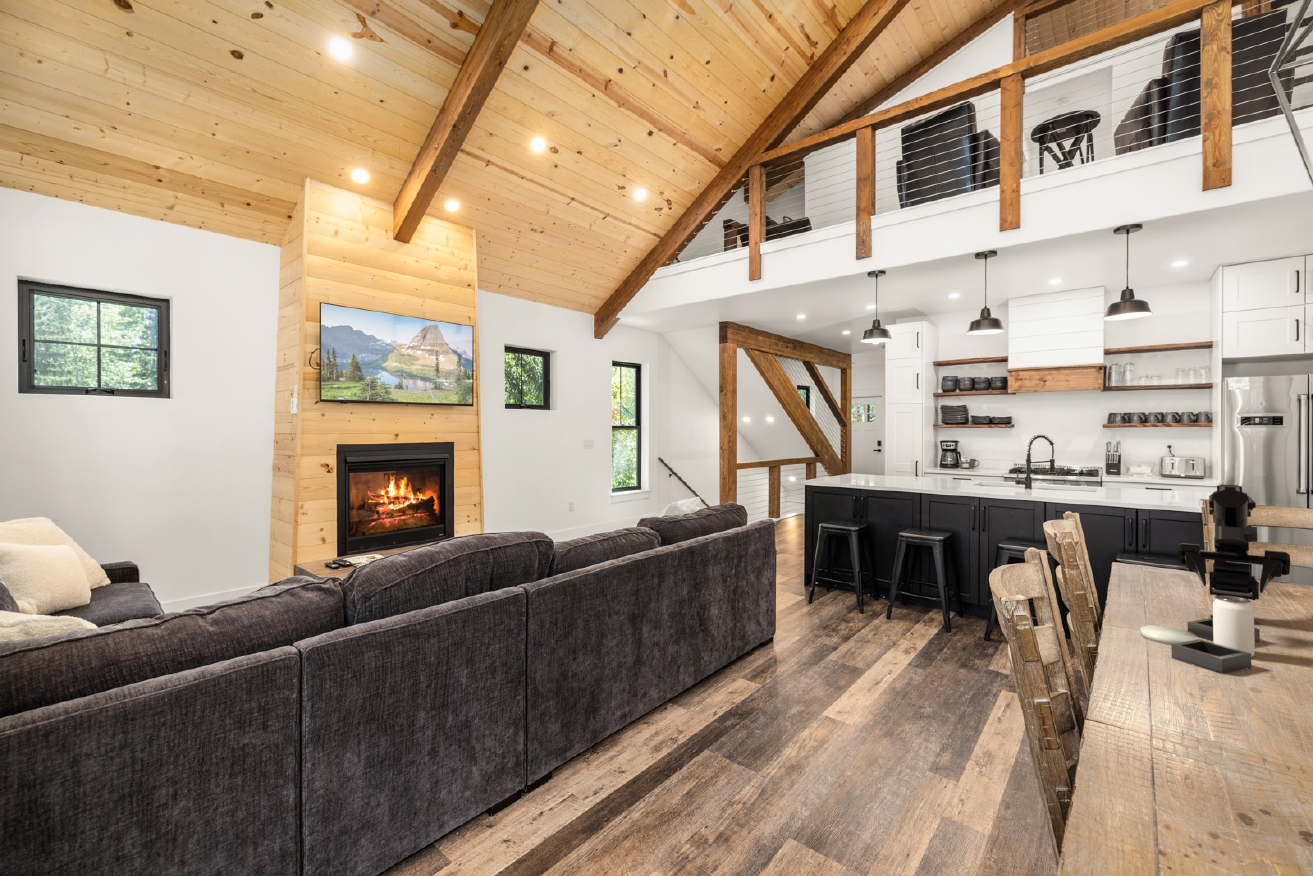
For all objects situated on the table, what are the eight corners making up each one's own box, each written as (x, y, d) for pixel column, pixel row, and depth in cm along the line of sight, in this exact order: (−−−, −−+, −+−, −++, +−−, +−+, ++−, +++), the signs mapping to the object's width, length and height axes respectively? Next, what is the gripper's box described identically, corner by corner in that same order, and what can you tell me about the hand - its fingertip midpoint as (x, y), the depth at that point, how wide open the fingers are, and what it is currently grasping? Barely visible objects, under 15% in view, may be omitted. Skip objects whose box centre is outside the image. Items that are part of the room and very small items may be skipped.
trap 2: (1213, 629, 144) (1212, 617, 144) (1259, 642, 135) (1259, 629, 135) (1187, 634, 141) (1187, 621, 141) (1233, 646, 132) (1233, 633, 132)
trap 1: (1200, 652, 129) (1199, 639, 129) (1251, 667, 121) (1251, 653, 121) (1171, 658, 127) (1171, 644, 127) (1221, 673, 118) (1221, 659, 118)
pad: (1159, 629, 145) (1159, 623, 145) (1207, 642, 135) (1207, 636, 135) (1130, 634, 142) (1130, 628, 142) (1177, 648, 132) (1177, 641, 132)
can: (1236, 648, 132) (1235, 595, 132) (1263, 658, 125) (1262, 603, 125) (1205, 647, 132) (1204, 594, 132) (1230, 658, 126) (1229, 603, 126)
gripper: (1177, 510, 144) (1175, 562, 136) (1288, 516, 131) (1294, 574, 123) (1180, 537, 150) (1178, 589, 142) (1286, 546, 137) (1291, 603, 129)
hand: (1232, 588), depth 134 cm, fingers open, 9 cm apart
